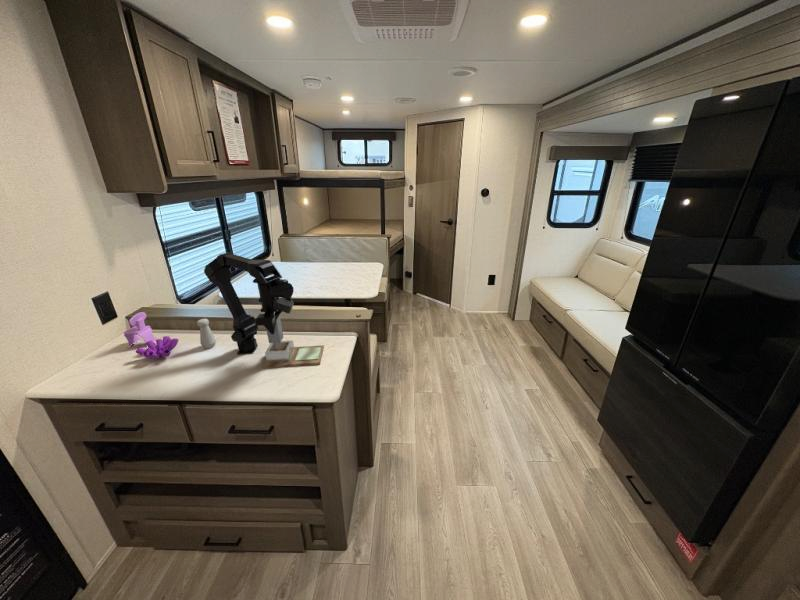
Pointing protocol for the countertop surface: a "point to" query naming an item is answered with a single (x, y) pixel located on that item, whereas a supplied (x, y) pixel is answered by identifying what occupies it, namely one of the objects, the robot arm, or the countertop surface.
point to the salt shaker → (206, 334)
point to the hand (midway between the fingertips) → (274, 331)
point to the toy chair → (139, 329)
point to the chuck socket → (279, 351)
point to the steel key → (276, 332)
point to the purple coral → (158, 348)
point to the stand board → (300, 357)
